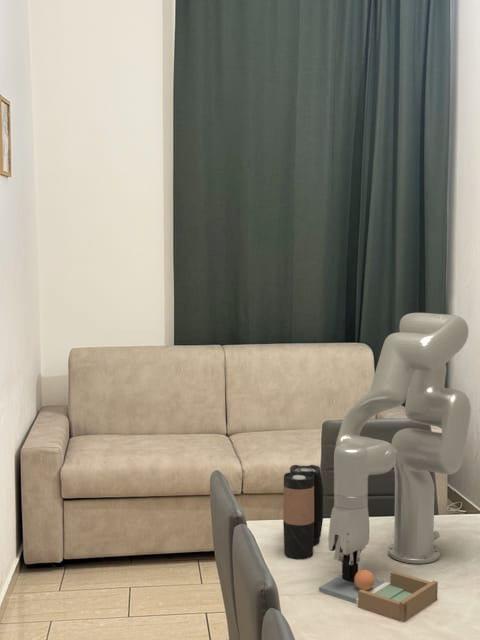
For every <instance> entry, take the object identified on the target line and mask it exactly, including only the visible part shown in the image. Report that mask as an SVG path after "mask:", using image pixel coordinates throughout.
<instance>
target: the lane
mask: <svg viewBox="0 0 480 640" xmlns="http://www.w3.org/2000/svg"><path fill="white" fill-rule="evenodd" d="M438 586H439V582H438V581H437V580H432V581H430V580H425V579H422V578H419V577H415V576H411V575H408V574H405V573H402V572H398V571H394V570H393V571H390V582H387V581H384V580H381V579H377V578H374V585H373V587H372V588H371V589H369V590H362V589H359V588H358V587H357V586H356V584H355V582H349V581H346V580H343V579H342V574H341V575H339V576H337V577H336V578H333V579H332V580H330V581H328V582H326V583H324V584H322V585H320V586H319V587H318V591H319V592H320V593H323V594H326V595H329V596H332V597H335V598H338V599H342V600H343V601H348V602H351V603H354V604H357V607H358V608H360V609H363V610H366V611H369V612H372V613H376V614H378V615H381V616H385V617H387V618H390V619H393V620H397V621H400V622H402V623H404V622H406V621H407V620H409V619H410V618H412V617H413V616H415V615H417V614H418V613H419V612H421V611H422V610H424V609H425V608H426V607H428V606H430V605H432V604H433V603H434V602H436V601H437V600H438V591H439V590H438V588H439V587H438Z"/></svg>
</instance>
